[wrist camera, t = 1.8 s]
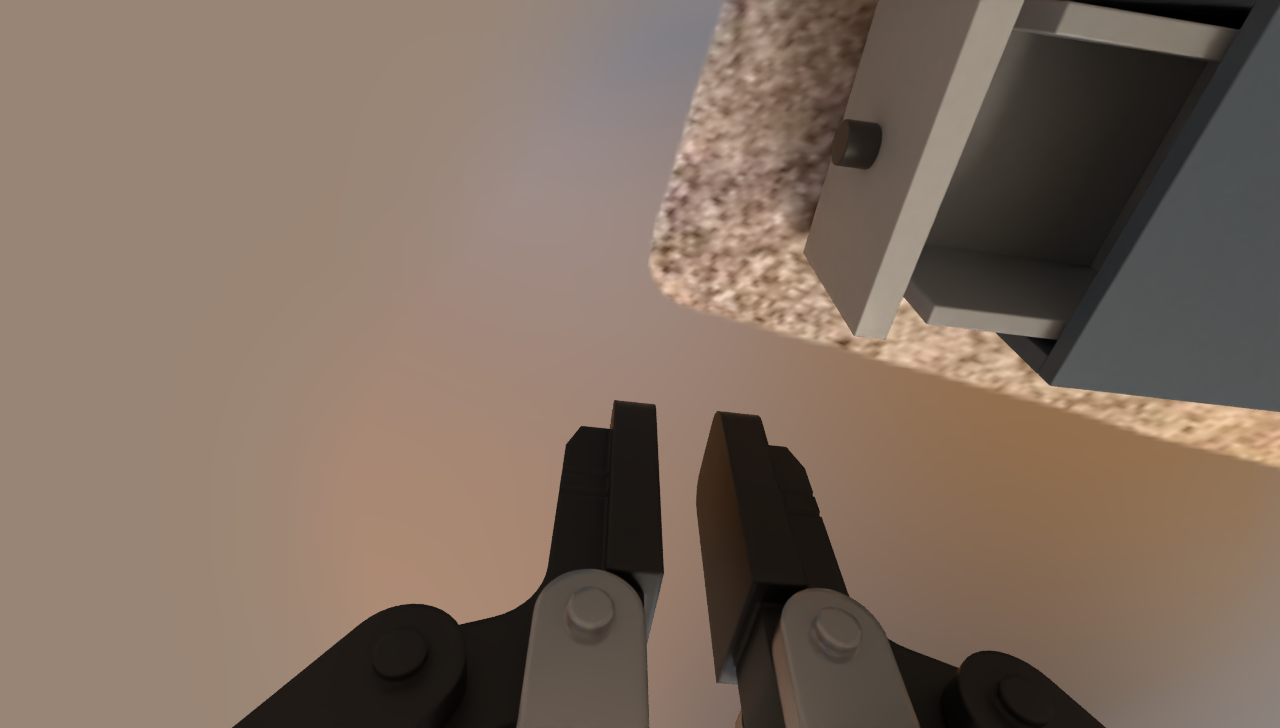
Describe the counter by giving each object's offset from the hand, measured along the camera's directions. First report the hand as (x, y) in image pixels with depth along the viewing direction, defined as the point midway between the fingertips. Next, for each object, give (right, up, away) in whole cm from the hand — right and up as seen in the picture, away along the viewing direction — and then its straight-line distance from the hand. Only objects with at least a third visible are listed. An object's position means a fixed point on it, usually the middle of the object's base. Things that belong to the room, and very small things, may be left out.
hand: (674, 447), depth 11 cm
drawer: (+14, +11, +15) cm, 23 cm away
